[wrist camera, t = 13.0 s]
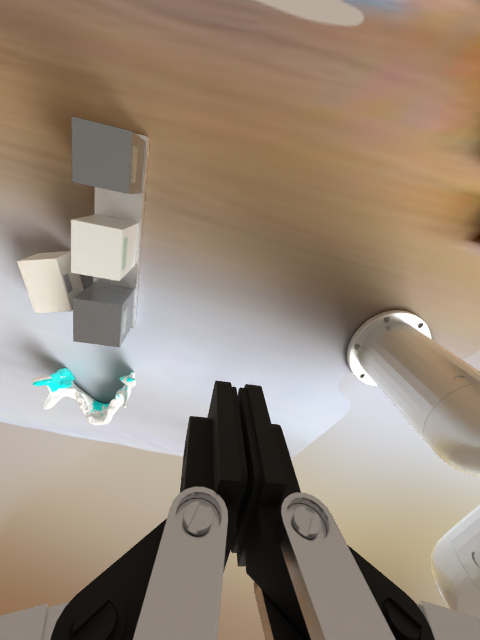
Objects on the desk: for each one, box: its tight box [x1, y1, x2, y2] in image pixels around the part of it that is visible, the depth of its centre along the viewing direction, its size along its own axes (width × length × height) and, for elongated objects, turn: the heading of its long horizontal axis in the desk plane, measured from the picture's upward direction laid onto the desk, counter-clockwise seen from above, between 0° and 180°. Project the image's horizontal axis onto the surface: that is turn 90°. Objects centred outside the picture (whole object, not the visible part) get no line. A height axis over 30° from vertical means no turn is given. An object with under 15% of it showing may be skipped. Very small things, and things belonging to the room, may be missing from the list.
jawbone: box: [32, 368, 136, 425], centre depth 40 cm, size 12×8×9 cm, turn 87°
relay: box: [17, 251, 84, 313], centre depth 35 cm, size 4×6×4 cm
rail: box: [72, 117, 150, 347], centre depth 32 cm, size 5×22×8 cm, turn 168°
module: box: [71, 214, 138, 281], centre depth 31 cm, size 5×5×6 cm
